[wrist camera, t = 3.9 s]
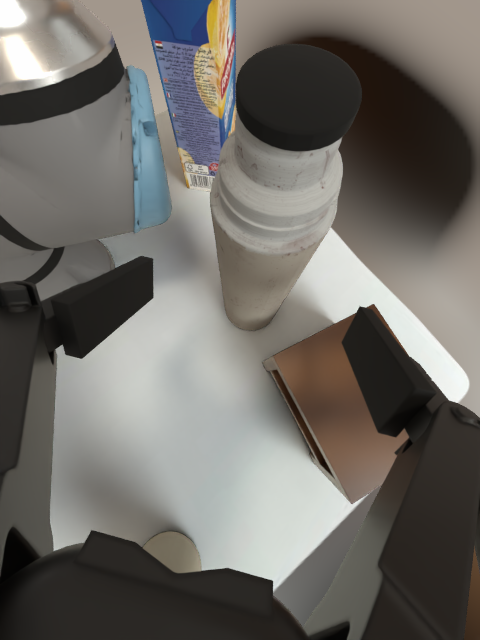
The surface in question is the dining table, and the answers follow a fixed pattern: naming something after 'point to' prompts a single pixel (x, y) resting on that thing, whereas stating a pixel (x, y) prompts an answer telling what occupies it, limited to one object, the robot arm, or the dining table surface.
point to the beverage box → (196, 78)
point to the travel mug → (174, 552)
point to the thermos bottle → (279, 174)
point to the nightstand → (334, 411)
